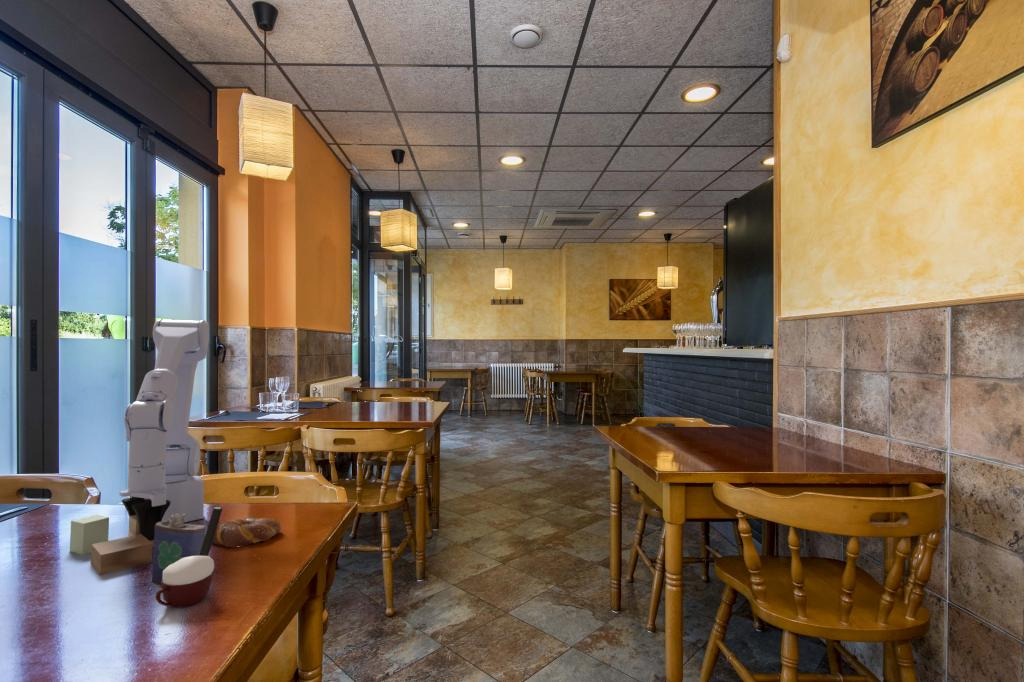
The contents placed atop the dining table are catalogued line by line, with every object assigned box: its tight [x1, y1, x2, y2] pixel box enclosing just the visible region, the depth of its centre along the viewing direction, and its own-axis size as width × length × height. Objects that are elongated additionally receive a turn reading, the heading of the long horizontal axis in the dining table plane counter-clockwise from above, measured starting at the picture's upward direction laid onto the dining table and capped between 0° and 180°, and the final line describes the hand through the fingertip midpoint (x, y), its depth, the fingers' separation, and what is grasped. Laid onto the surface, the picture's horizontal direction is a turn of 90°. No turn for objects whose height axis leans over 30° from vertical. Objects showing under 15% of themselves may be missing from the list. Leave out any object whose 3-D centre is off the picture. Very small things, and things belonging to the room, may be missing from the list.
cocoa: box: [155, 506, 223, 608], centre depth 73 cm, size 10×6×12 cm, turn 139°
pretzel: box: [212, 517, 282, 548], centre depth 99 cm, size 12×11×4 cm
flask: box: [151, 513, 206, 586], centre depth 79 cm, size 9×3×11 cm, turn 74°
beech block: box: [128, 515, 154, 548], centre depth 95 cm, size 4×4×6 cm
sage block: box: [69, 514, 110, 556], centre depth 92 cm, size 4×4×6 cm
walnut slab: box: [90, 534, 153, 576], centre depth 86 cm, size 7×7×4 cm
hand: (144, 537), depth 95 cm, fingers closed on beech block, 4 cm apart
